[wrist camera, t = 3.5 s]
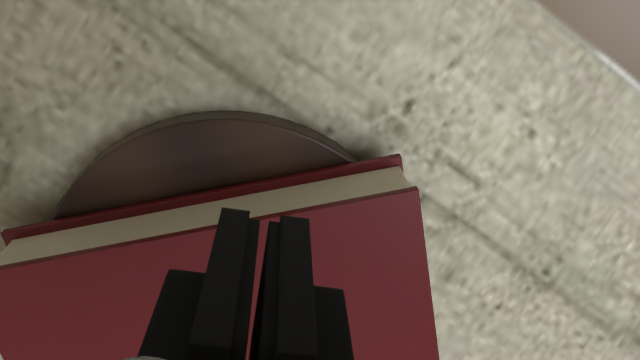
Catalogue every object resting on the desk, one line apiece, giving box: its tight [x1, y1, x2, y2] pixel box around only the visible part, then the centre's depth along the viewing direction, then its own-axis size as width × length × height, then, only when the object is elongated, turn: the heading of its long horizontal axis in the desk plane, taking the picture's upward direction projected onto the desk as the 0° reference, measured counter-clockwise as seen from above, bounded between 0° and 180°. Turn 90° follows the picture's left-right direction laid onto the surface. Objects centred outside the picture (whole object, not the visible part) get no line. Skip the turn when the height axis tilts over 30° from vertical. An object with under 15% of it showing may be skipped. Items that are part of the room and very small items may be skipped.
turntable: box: [51, 111, 360, 220], centre depth 22 cm, size 14×14×1 cm
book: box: [0, 154, 439, 360], centre depth 20 cm, size 14×9×3 cm, turn 100°
